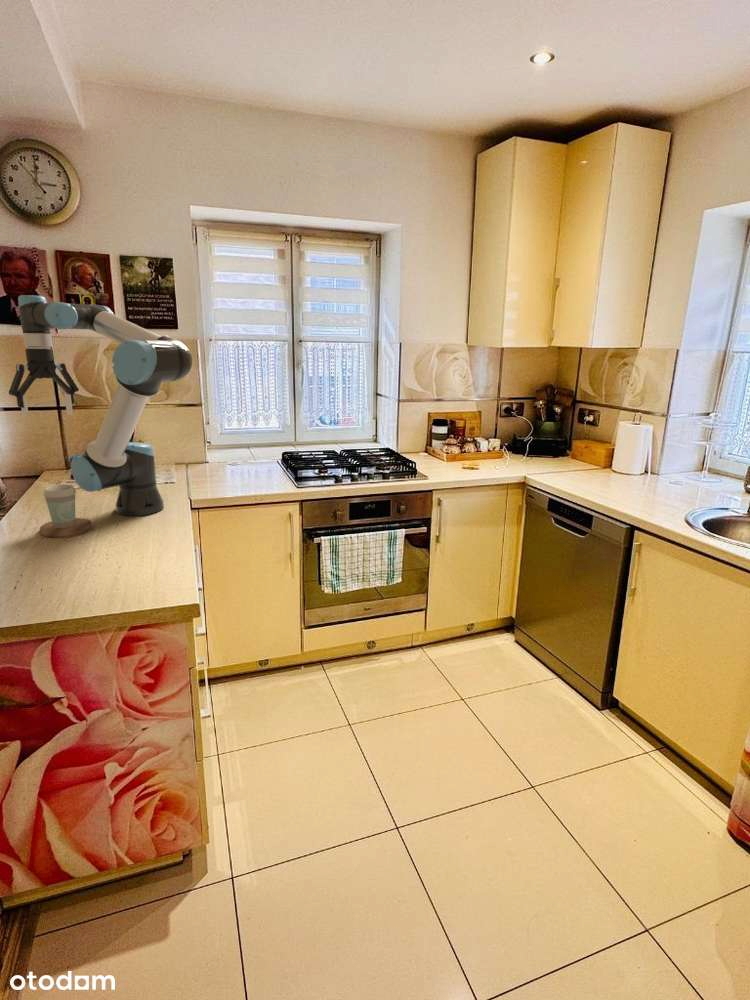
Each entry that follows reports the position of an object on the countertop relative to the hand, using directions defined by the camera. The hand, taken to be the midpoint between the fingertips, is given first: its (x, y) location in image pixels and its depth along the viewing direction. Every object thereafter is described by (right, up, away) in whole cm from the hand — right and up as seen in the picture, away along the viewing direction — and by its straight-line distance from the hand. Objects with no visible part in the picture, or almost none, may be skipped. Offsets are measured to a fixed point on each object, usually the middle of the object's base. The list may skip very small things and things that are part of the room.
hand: (48, 415), depth 180 cm
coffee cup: (+11, -35, -11) cm, 39 cm away
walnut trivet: (+12, -36, -10) cm, 40 cm away
